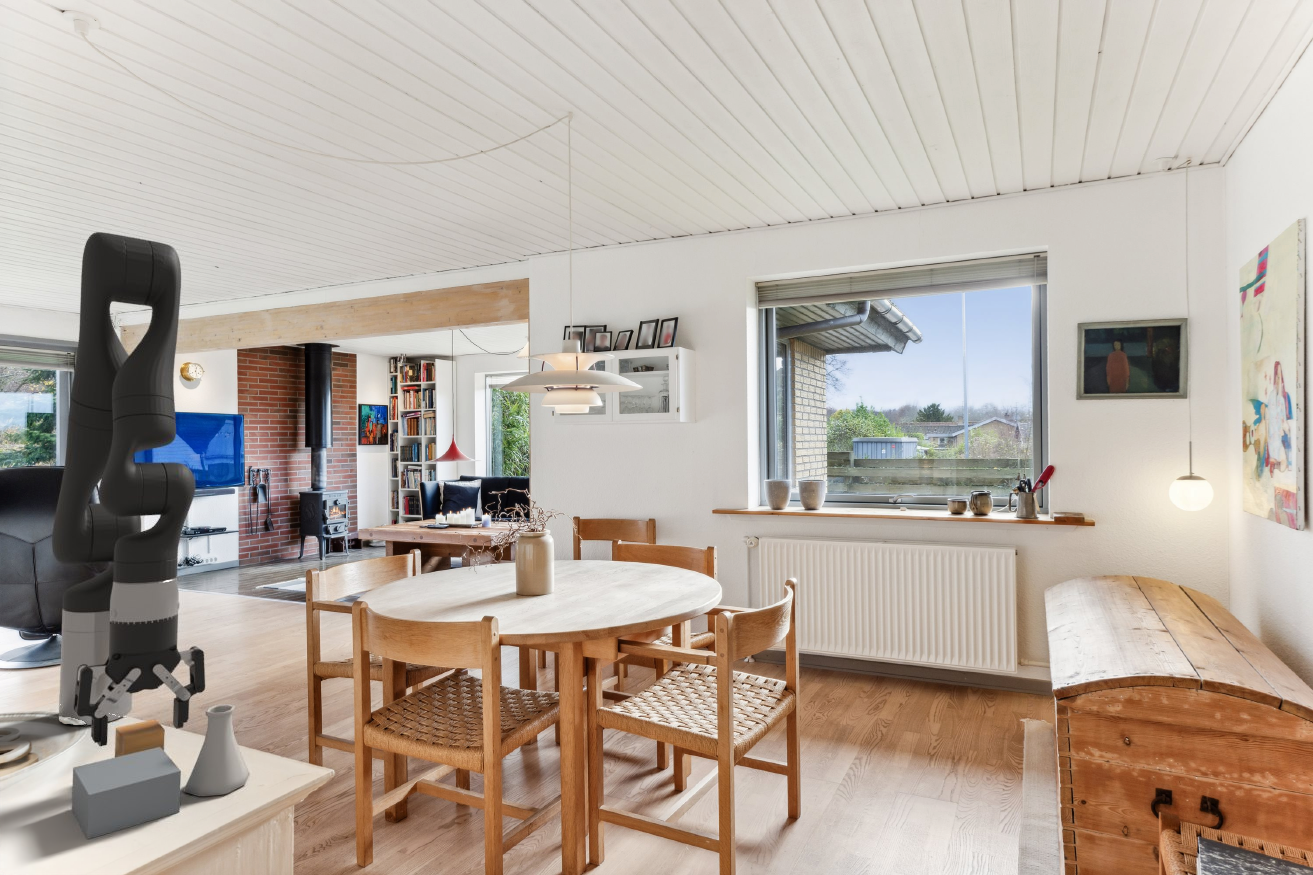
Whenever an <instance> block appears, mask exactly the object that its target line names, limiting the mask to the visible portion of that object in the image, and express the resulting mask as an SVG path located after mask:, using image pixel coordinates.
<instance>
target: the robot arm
mask: <svg viewBox="0 0 1313 875" xmlns="http://www.w3.org/2000/svg"><path fill="white" fill-rule="evenodd" d="M80 277H81V278H80V307H79V308H80V309H79V331H78V332H79V333H78V343H77V344H78V345H77V351H76V359H75V365H74V371H73V377H72V378H73V379H72V385H71V391H70V392H71V393H70V397H69V398H70V399H69V408H68V416H67V417H68V418H67V419H68V420H67V434H66V445H65V446H66V449H65V460H64V469H63V474H62V480H61V484H60V491H59V496H58V500H57V504H56V511H55V514H54V522H53V528H52V538H51V542H52V543H51V548H52V552H53V555H54V558H55V559H56V561H57V562H59V563H60V564H63V565H86V564H99V563H100V564H101V563H110V564H109V566H108V567H107V568H105V570H104V571H102V572H101V573H99V574H98V575H96V576H94V577H92V578H90V579H87V580H85V581H82V582H79V583H78V584H75V585H73V586H72V585H71V587H68V588H67V589H66V590H65V591H64V593H63V596H62V609H61V610H62V612H61V613H62V614H61V615H62V618H61V641H60V642H61V644H60V645H61V647H60V648H61V650H60V674H59V677H60V678H59V699H58V717H59V716H62V717H71V718H75V719H78V720H82V721H84V722H85V723H86V724H87V725H86V726H91V728H90V729H91V730H90V738H92V740H93V742H94V744H96V743H97V745H98V746H99V747H105V746H107V745H108V728H109V727H108V726H109V725H108V724H109V722H112V721H115V720H118V719H120V718H123V717H125V716H127V715H128V714H129V713H131V711H132V710H133V709H132V708H133V694H135V693H139V692H141V691H144V690H149V691H151V690H157V689H159V688H160V687H161V686H162V685H164V686H166V687H167V688H168V689H169V690H170V691H171V692H173V694H174V695H175V697H174V698H173V710H172V711H173V712H172V713H173V715H172V717H173V718H172V724H173V727H174V728H175V729H182V728H184V724H185V723H187V722H188V721H189V718H190V717H189V715H190V712H189V710H190V699H191V698H192V697H193V696H195V695H196V694H200V693H201V694H202V693H203V692H204V691H205V689H206V674H205V673H206V672H205V669H206V668H205V652H204V651H203V649H201V648H200V647H198V646H195V645H193V646H191V647H190V648H189V649H187V650H183V651H182V650H181V651H179V650H178V632H179V631H178V630H179V629H178V628H179V610H180V601H179V597H180V596H179V585H178V560H179V559H178V558H179V557H178V556H179V545H180V540H181V536H182V532H183V529H184V525H185V522H186V519H187V516H188V513H189V511H190V509H191V506H192V503H193V500H194V498H195V493H196V478H195V476H194V473H193V472H192V470H191V469H190V468H189V467H188V466H187V465H185V464H184V463H181V462H180V463H179V462H135V461H134V457H135V454H137V453H139V452H142V451H147V450H152V449H158V448H162V447H166V446H168V445H170V444H172V443H173V442H174V441H175V439H176V436H177V427H176V426H177V425H176V406H175V390H174V385H175V384H174V382H175V381H174V377H175V376H174V375H175V374H174V372H175V360H176V359H175V358H176V349H177V343H178V331H179V330H178V329H179V320H180V319H179V318H180V306H181V305H180V304H181V303H180V302H181V293H182V292H181V290H182V268H181V261H180V257H179V255H178V253H177V250H176V249H175V247H174V246H172V245H170V244H167V243H163V242H159V241H154V240H149V239H143V238H137V237H131V236H127V235H120V234H114V233H109V232H103V231H102V232H100V231H96V232H93V233H92V234H90V235H89V237H88V239H87V240H86V242H85V245H84V248H83V254H82V260H81V276H80ZM112 302H114V303H115V302H116V303H122V304H129V305H138V306H146V307H151V318H150V323H149V326H148V328H147V330H146V332H145V334H144V335H143V337H142V339H141V340H140V342H139V343H138V344H137V346H136V347H135V348H134V349H133V351H132V352H131V353H130V354H128V352H127V351H126V349H125V347H124V346H123V344H122V341H121V340H120V338H119V336H118V334H117V332H116V330H115V327H114V325H113V322H112V317H111V309H110V308H111V304H112ZM98 484H99V487H98V494H97V495H98V501H99V502H98V503H89V502H90V499H91V498H92V494H93V493H94V491H95V489H96V488H97V486H98ZM142 516H143V517H144V516H159V518H158V520H157V521H156V522H155V524H154V525H153V526H152V527H150V528H148V529H145V530H142ZM181 661H183V662H184V664H185V665H186V666H187V667H189V683H188V684H187V685H185V686H184V685H182V683H181V682H180V681H178V680H177V678H176V677H174V676H173V674H172V673H173V672H174V671H175V669H176V668H177V666H178V665H179V664H180V662H181ZM60 704H61V705H60ZM109 713H110V714H109ZM112 714H115V715H116V716H115V715H112ZM118 716H120V717H118Z"/></svg>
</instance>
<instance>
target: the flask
mask: <svg viewBox="0 0 1313 875" xmlns="http://www.w3.org/2000/svg"><path fill="white" fill-rule="evenodd" d="M235 708H236V705H232V704H227V703H226V704H216V705H213V706H211V707H208V708H207V709H206V711H205V716H206V717H207V729H206V733H205V737H204V741H203V743H202V746H201V749H200V751H199V753H198V755H197V756H198V757H197V759H196V762H195V763H194V766H193V769H192V771H191V773H190V775H189V778H188V780H187V782H186V785H185V787H184V790H183V792H184V793H187V794H191V795H194V796H197V797H207V796H209V797H210V796H218V795H220V796H221V795H226V794H229V793H230V792H233V791H235V790H236V789H239V788H240V787H242V786H244V785H246V784H247V781H248V780H249V777H250V771H249V768H248V766H247V764H246V762H245V759H244V756H243V754H242V751H241V750H240V747H239V744H238V741H237V738H236V736H235V733H234V727H233V712H234V711H235Z"/></svg>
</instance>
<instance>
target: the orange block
mask: <svg viewBox="0 0 1313 875" xmlns="http://www.w3.org/2000/svg"><path fill="white" fill-rule="evenodd" d="M114 744H115V745H114V758H115V757H120V756H124V755H128V754H132V753H136V752H141V751H145V750H149V749H153V748H157V747H161V748H162V749H163V751H164V752H165V728H164V727H163V726H162V725H161V724H160V723H159V721H158V720H156V719H151V720H147V721H141V722H137V723H133V724H128V725H122V726H117V727H115V743H114Z"/></svg>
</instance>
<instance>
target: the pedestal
mask: <svg viewBox="0 0 1313 875" xmlns="http://www.w3.org/2000/svg"><path fill="white" fill-rule="evenodd" d="M181 776H182V770H181V769H180V768H179V767H178V766H177V764H176V763H175V762H174V761H173V759H172V758H170V756H169V755H168V754H167V753H166V752H165V750H164V751H163V749H162V748H161V747H157V748H153V749H149V750H145V751H141V752H136V753H132V754H128V755H124V756H120V757H115V756H114V757H112V758H107V759H104V760H103V759H102V760H99V761H95V762H91V763H87V764H83V765H78V766H75V767H72V787H71V788H72V793H71V795H72V796H71V810H72V812H73V814H74V816H75V818H76V820H77V821H78V823H79V826H80V828H81V829H82V831H83V834H84V835H85V838H86V840H90V839H94V838H96V837H97V838H98V837H99V836H103V835H107V834H110V833H114V832H117V831H119V830H122V829H126V828H130V827H133V826H137V825H140V824H141V825H142V824H143V823H147V822H150V821H154V820H157V819H160V818H164V817H167V816H171V815H174V814H177V813H180V808H181V807H180V805H181V804H180V802H181V783H182V782H181Z"/></svg>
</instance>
